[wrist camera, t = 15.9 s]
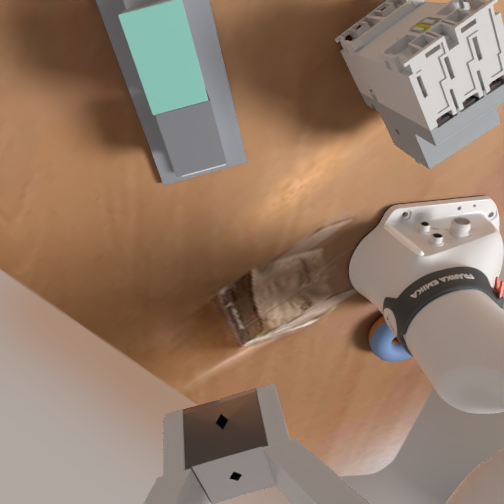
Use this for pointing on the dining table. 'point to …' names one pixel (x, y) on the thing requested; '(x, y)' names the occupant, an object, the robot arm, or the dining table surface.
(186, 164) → the rail assembly
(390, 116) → the circuit breaker
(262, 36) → the dining table surface
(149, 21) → the block
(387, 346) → the doughnut
